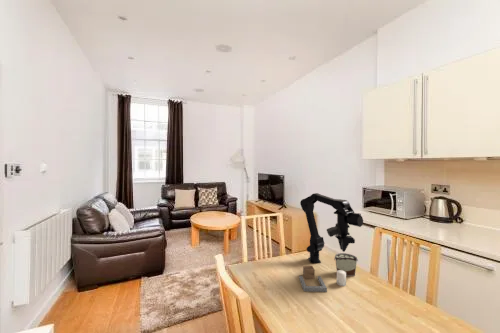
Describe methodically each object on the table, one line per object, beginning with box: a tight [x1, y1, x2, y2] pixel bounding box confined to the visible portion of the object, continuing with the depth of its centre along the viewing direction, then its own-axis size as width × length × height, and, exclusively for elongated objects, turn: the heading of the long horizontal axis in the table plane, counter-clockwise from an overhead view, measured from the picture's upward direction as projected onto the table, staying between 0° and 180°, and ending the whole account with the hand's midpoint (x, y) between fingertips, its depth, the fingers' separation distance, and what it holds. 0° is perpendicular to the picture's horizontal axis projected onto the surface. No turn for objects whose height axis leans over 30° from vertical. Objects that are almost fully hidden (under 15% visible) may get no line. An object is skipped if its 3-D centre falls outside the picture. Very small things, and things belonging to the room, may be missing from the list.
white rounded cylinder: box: [336, 270, 347, 287], centre depth 116 cm, size 4×4×6 cm
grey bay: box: [298, 275, 328, 293], centre depth 114 cm, size 12×11×2 cm
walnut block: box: [302, 264, 315, 280], centre depth 123 cm, size 5×5×5 cm
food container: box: [333, 252, 359, 277], centre depth 127 cm, size 12×6×10 cm, turn 84°
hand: (342, 250), depth 127 cm, fingers open, 3 cm apart
